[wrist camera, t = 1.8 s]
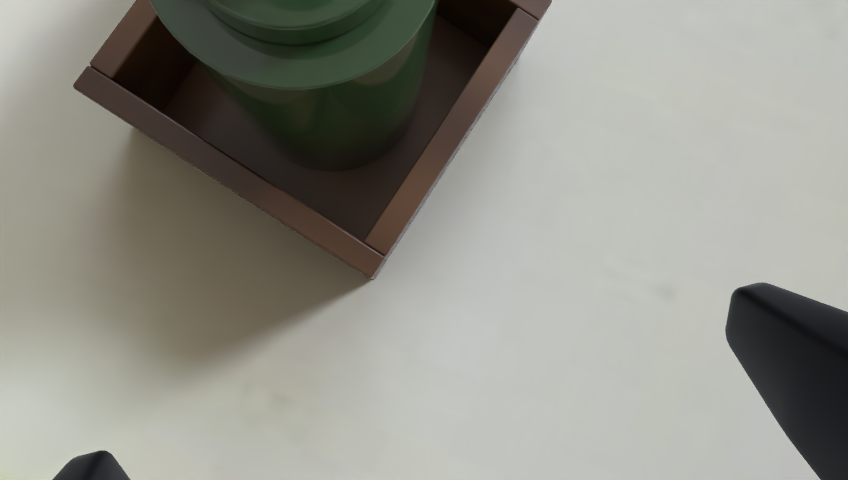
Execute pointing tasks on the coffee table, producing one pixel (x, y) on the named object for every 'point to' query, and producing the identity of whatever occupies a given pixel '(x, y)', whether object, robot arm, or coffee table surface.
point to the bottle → (312, 70)
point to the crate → (299, 186)
